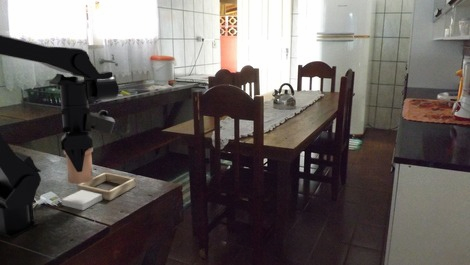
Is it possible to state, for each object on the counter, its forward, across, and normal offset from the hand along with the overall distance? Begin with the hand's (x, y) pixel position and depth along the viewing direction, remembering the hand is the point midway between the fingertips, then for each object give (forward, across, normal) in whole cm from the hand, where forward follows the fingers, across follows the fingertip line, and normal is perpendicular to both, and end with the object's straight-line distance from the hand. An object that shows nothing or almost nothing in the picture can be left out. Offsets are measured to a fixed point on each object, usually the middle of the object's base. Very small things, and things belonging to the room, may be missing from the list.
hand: (79, 167), depth 89 cm
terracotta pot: (+3, 0, 0) cm, 3 cm away
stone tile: (+9, 0, 0) cm, 9 cm away
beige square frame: (+9, +6, -6) cm, 13 cm away
